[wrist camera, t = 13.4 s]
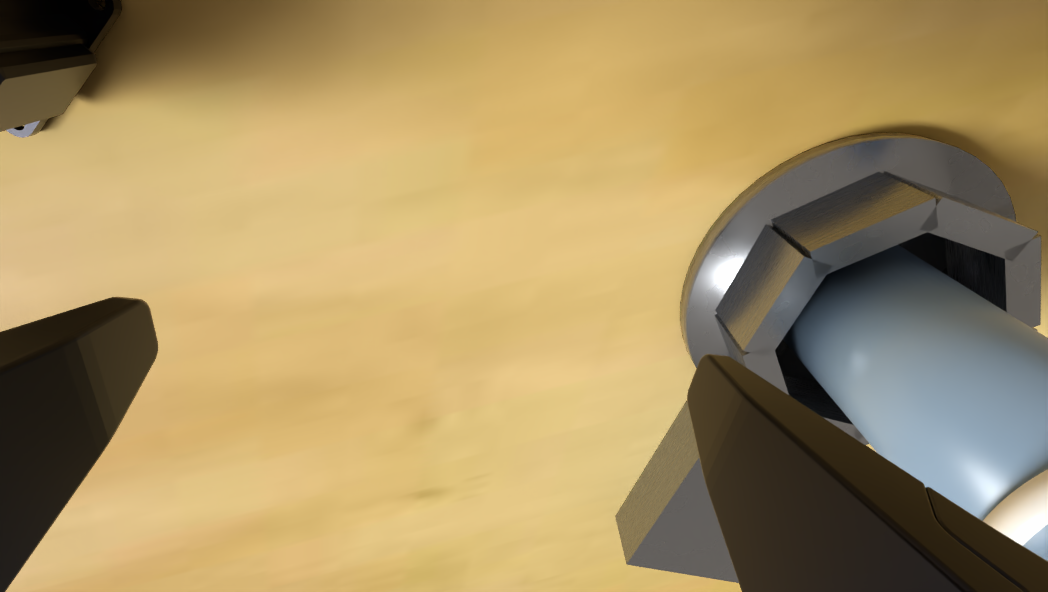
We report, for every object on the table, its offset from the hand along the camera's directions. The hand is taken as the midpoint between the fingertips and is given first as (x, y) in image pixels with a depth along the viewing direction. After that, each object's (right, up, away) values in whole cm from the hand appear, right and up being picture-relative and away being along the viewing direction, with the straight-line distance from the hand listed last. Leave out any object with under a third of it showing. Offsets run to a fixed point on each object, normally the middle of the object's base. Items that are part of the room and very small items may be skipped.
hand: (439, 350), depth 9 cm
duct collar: (+14, -3, +17) cm, 23 cm away
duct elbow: (+17, +1, +14) cm, 23 cm away
